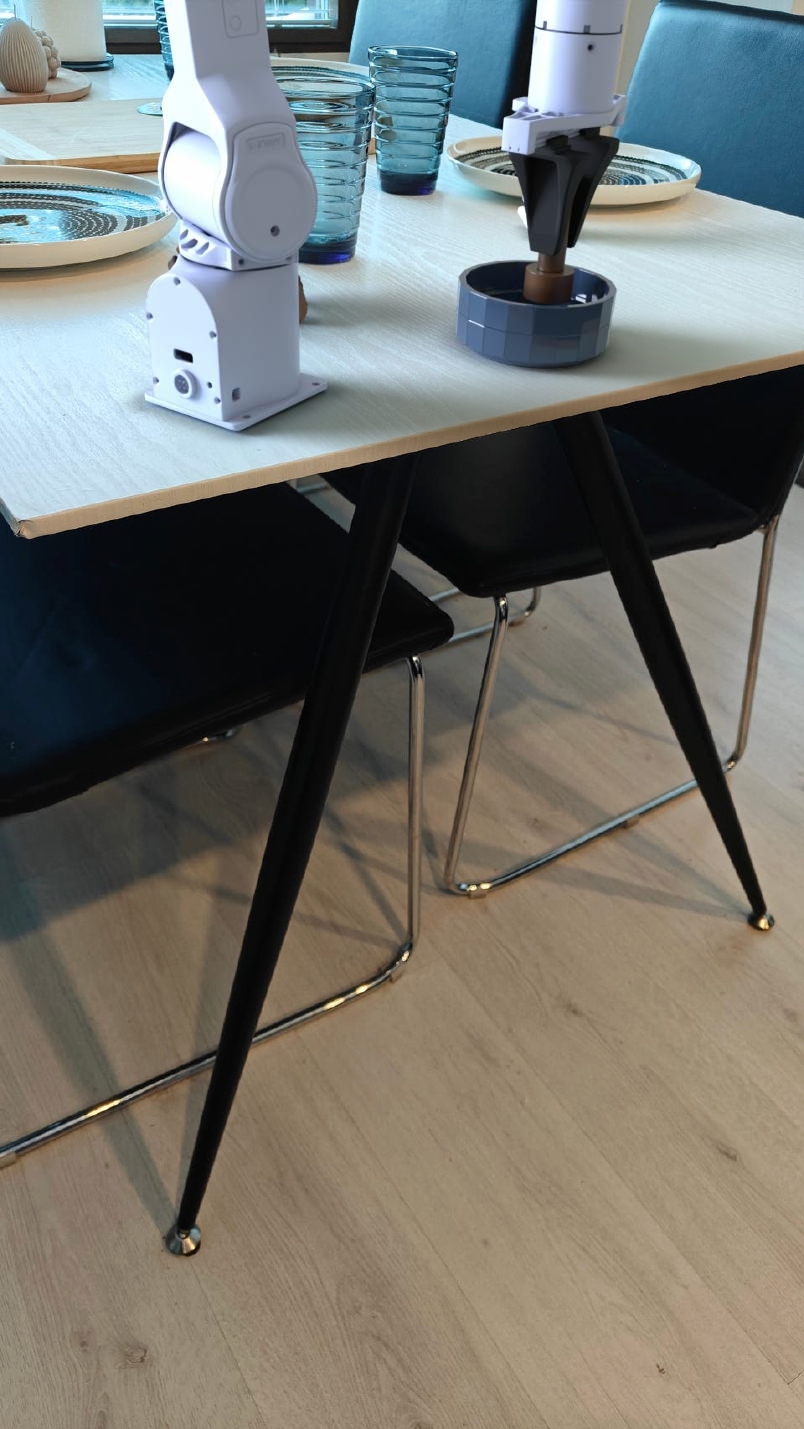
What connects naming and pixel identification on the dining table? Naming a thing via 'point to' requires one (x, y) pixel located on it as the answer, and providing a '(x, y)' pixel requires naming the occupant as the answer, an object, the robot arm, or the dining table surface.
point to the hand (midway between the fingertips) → (552, 248)
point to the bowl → (532, 317)
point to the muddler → (550, 277)
